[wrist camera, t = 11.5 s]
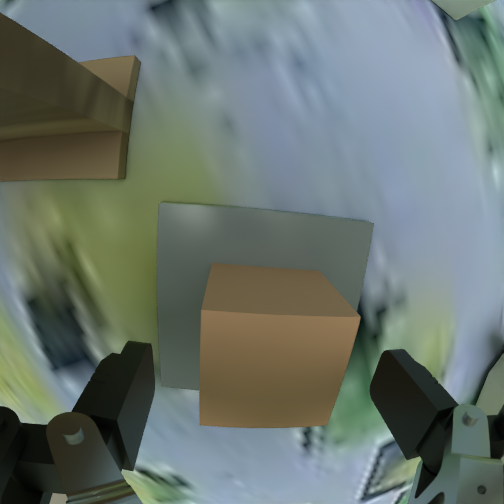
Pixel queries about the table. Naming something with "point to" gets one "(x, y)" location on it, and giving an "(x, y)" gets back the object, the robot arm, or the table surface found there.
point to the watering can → (493, 391)
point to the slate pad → (241, 253)
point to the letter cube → (272, 347)
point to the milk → (460, 6)
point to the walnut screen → (61, 110)
